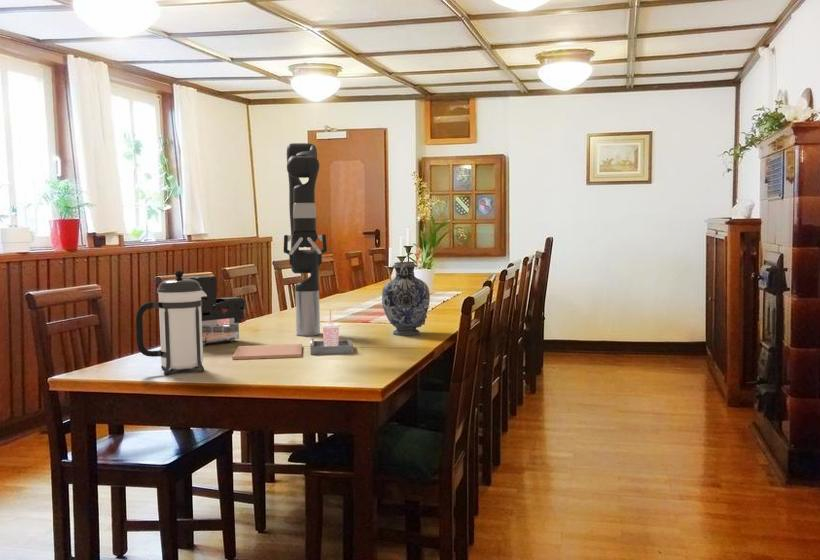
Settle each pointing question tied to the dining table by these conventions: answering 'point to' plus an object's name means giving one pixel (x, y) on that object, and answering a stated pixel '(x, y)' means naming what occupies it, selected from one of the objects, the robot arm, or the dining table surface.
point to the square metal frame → (330, 347)
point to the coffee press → (176, 324)
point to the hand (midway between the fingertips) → (305, 265)
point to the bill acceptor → (218, 312)
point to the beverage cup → (330, 333)
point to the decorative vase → (406, 300)
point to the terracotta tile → (268, 351)
